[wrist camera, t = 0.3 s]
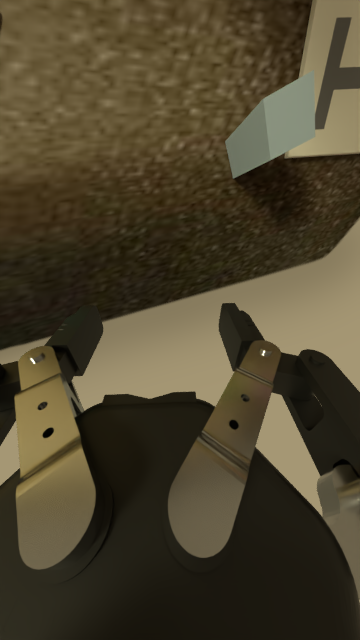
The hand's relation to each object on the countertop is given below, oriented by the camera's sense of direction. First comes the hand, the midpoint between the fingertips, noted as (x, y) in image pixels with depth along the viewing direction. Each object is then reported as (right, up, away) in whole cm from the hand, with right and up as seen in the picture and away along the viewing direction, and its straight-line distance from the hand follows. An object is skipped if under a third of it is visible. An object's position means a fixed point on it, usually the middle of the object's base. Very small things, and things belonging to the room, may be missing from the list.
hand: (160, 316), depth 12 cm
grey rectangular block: (+12, +27, +17) cm, 34 cm away
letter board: (+26, +34, +14) cm, 45 cm away
